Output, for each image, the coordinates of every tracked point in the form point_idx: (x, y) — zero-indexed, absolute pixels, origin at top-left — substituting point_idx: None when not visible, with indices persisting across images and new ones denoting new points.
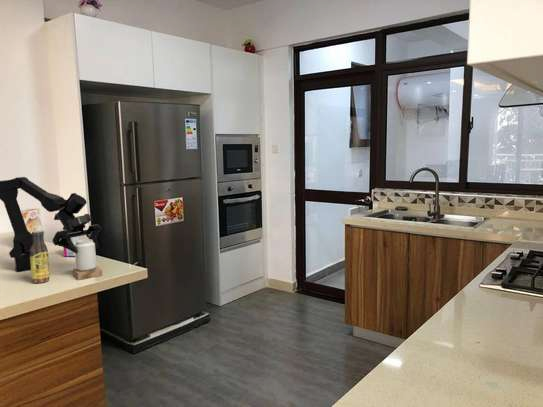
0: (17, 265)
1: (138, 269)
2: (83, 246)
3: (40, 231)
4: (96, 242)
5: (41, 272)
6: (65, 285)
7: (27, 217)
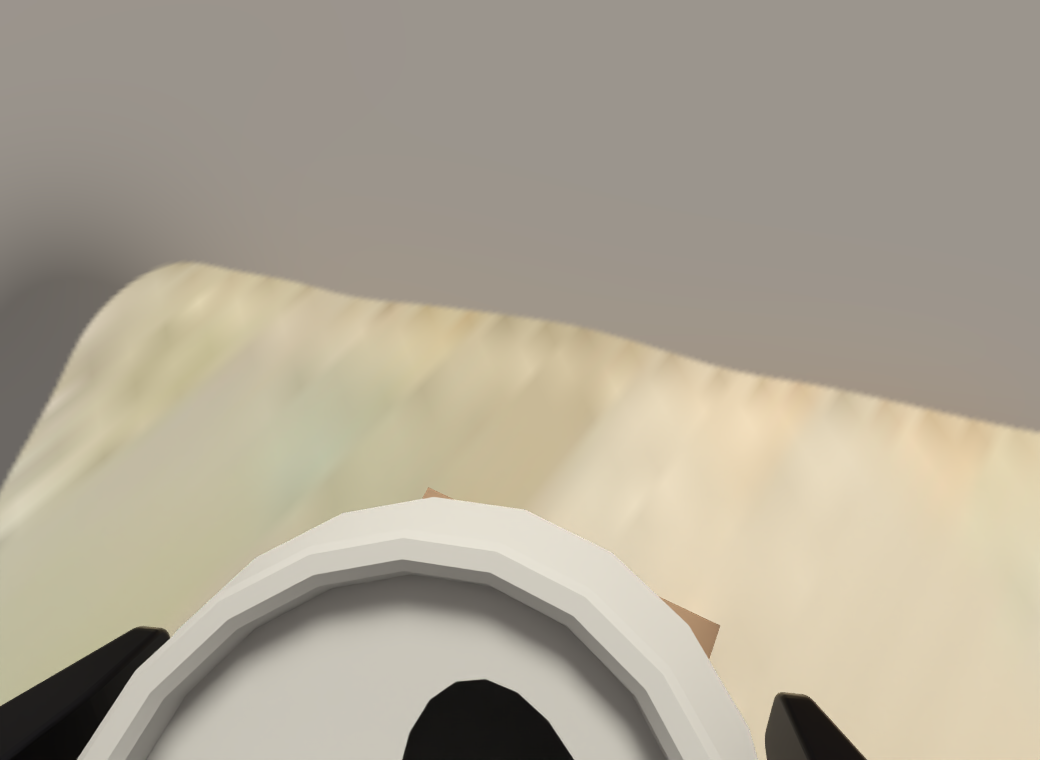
0: None
1: (131, 325)
2: (654, 594)
3: None
4: (13, 733)
5: None
6: (905, 595)
7: None
